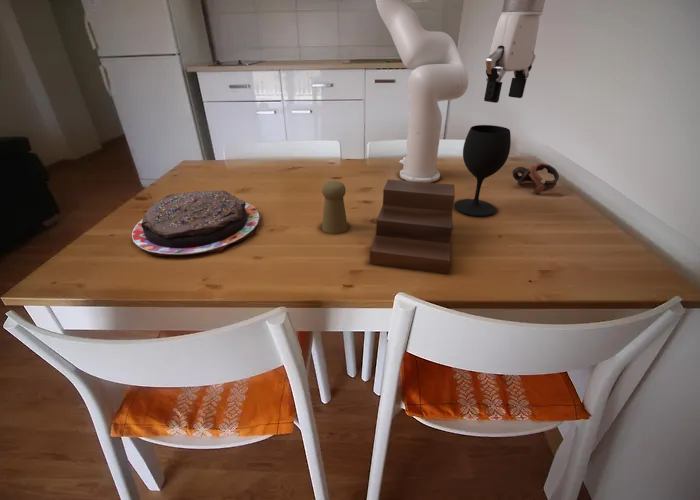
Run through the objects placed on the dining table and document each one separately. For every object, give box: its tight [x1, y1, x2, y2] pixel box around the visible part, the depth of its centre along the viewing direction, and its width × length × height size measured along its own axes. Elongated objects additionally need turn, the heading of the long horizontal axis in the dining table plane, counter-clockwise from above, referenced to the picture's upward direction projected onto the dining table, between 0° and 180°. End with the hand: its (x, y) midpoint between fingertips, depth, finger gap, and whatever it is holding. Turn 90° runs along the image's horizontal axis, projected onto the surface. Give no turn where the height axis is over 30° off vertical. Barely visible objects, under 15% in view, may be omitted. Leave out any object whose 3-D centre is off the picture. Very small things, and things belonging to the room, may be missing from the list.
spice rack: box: [369, 178, 456, 274], centre depth 75 cm, size 21×15×10 cm
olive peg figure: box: [321, 180, 349, 235], centre depth 80 cm, size 6×6×11 cm
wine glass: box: [453, 124, 512, 218], centre depth 87 cm, size 10×10×20 cm
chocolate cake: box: [131, 190, 260, 257], centre depth 82 cm, size 28×28×7 cm
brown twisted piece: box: [512, 162, 560, 195], centre depth 102 cm, size 12×10×8 cm
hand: (503, 99), depth 79 cm, fingers open, 9 cm apart
